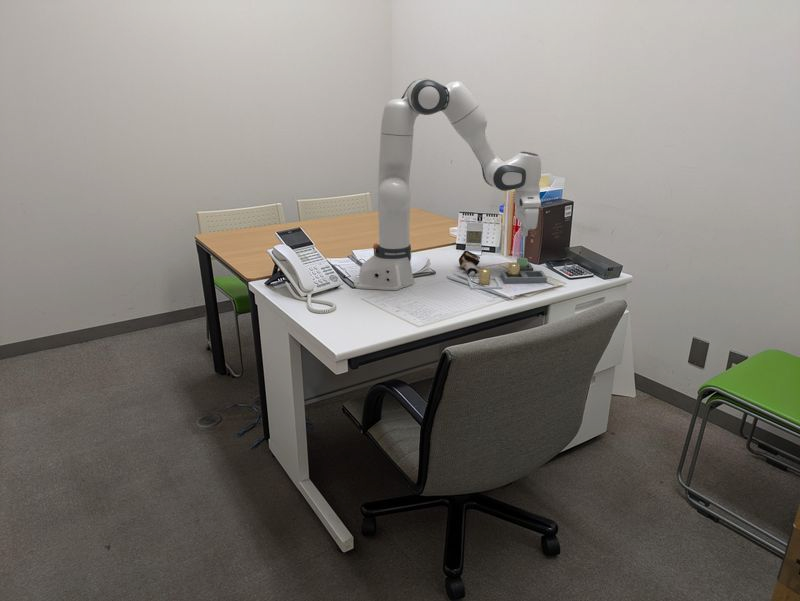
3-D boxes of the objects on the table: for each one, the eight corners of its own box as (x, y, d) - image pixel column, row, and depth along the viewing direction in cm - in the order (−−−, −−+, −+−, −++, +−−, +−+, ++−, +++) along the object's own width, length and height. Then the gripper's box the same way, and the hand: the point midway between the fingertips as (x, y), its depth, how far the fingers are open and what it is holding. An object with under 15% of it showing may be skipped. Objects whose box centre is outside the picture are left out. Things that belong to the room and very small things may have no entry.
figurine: (468, 266, 200) (462, 246, 212) (456, 282, 204) (451, 261, 216) (488, 275, 203) (481, 255, 215) (476, 291, 207) (470, 270, 219)
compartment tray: (503, 287, 197) (504, 278, 195) (499, 278, 205) (499, 270, 204) (548, 286, 197) (548, 277, 195) (541, 278, 205) (542, 270, 204)
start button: (517, 271, 205) (518, 260, 204) (515, 267, 209) (515, 257, 208) (528, 270, 205) (528, 260, 204) (525, 267, 209) (526, 257, 208)
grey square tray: (470, 292, 192) (470, 287, 191) (466, 282, 202) (467, 277, 201) (502, 292, 192) (502, 287, 191) (496, 281, 202) (496, 277, 201)
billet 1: (479, 287, 195) (479, 271, 193) (477, 283, 199) (478, 268, 196) (490, 287, 195) (491, 271, 193) (488, 283, 199) (489, 268, 196)
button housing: (513, 278, 205) (514, 268, 203) (510, 272, 211) (510, 262, 210) (532, 278, 205) (533, 268, 203) (528, 272, 211) (529, 262, 210)
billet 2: (508, 281, 198) (509, 265, 196) (506, 278, 202) (507, 262, 200) (519, 281, 198) (520, 265, 196) (517, 277, 202) (518, 262, 200)
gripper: (512, 193, 207) (510, 228, 212) (524, 203, 188) (521, 242, 193) (528, 192, 207) (526, 228, 212) (542, 203, 188) (539, 242, 193)
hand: (524, 235), depth 203 cm, fingers closed
